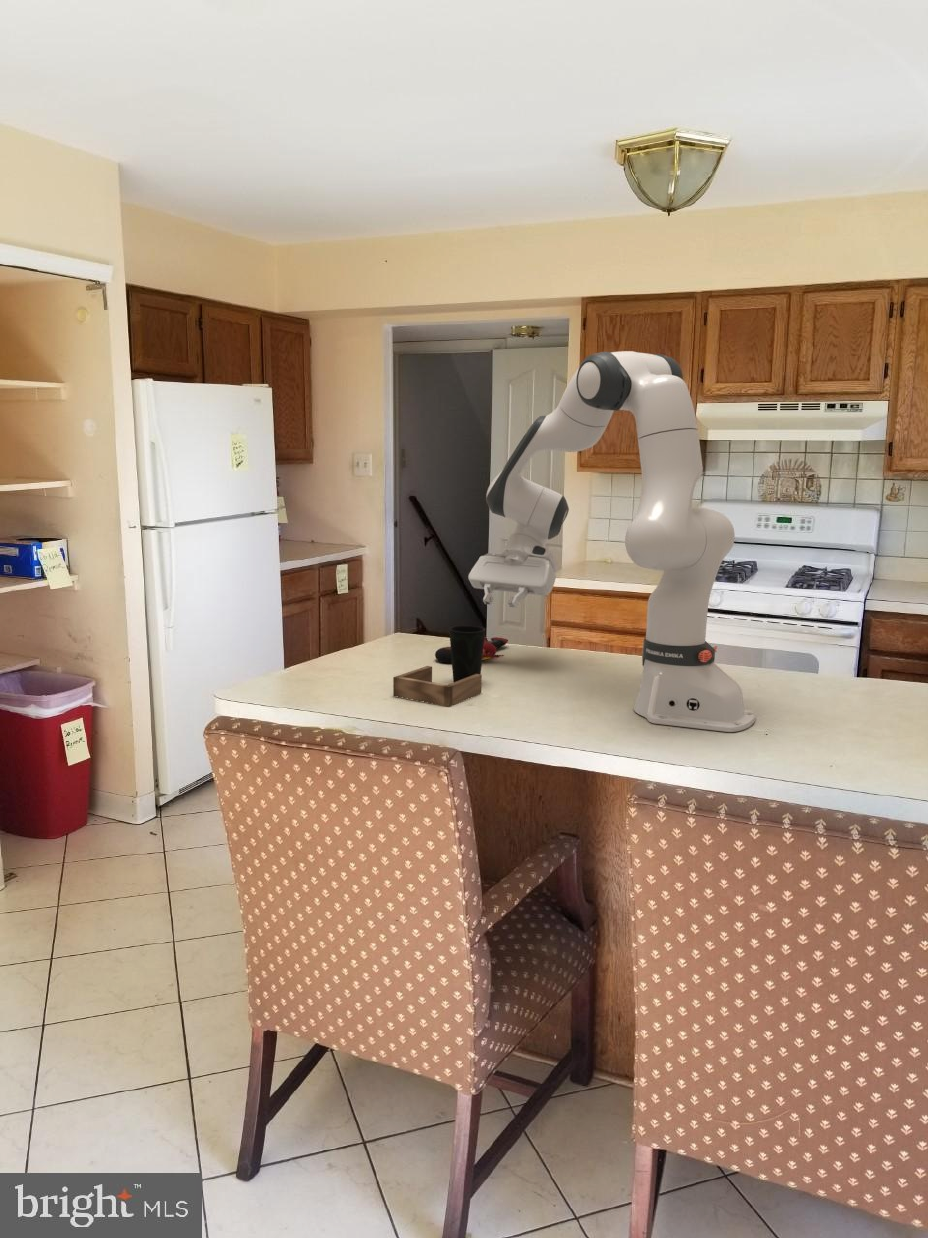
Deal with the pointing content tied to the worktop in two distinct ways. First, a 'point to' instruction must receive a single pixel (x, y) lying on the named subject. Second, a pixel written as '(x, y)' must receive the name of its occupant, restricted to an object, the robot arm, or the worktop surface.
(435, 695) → the bay
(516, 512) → the robot arm
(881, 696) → the worktop surface
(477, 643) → the cup
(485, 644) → the toy motorcycle
